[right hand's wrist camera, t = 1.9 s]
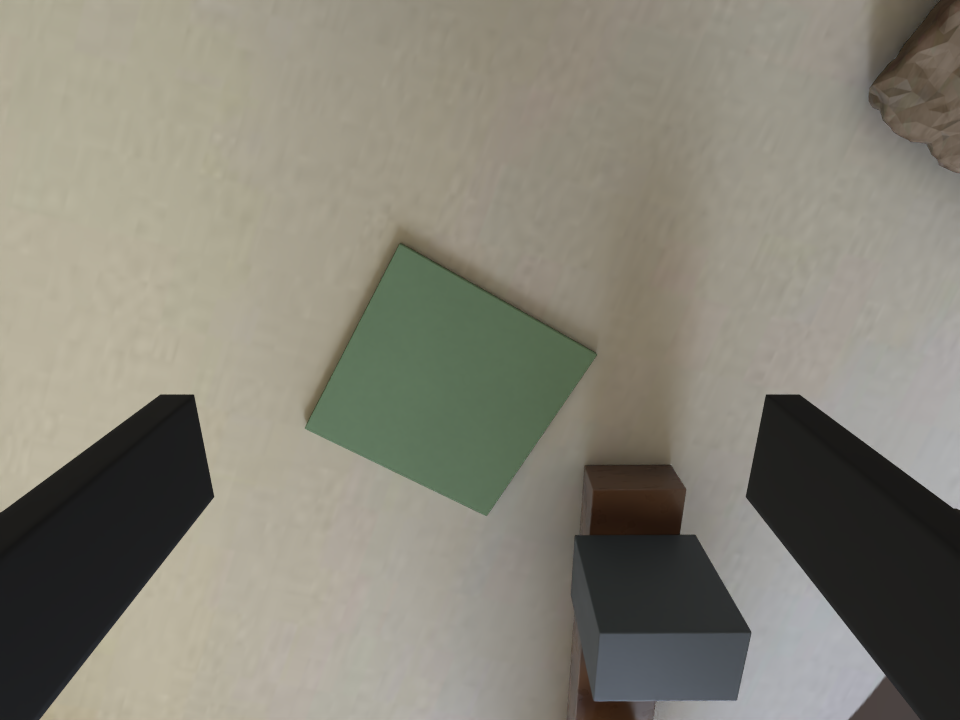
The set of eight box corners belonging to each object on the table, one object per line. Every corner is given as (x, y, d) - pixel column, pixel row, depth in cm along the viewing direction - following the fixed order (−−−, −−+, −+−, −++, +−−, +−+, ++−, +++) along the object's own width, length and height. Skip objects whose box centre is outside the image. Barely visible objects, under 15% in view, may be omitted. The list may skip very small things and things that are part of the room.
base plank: (584, 465, 38) (614, 552, 29) (671, 464, 38) (726, 552, 29) (565, 731, 47) (585, 857, 38) (636, 730, 47) (670, 857, 38)
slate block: (574, 534, 36) (599, 632, 29) (695, 534, 36) (752, 632, 29) (570, 594, 38) (593, 702, 30) (686, 594, 38) (737, 701, 30)
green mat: (400, 242, 33) (399, 243, 32) (596, 352, 35) (597, 354, 35) (306, 426, 37) (304, 428, 36) (486, 512, 39) (486, 516, 39)
